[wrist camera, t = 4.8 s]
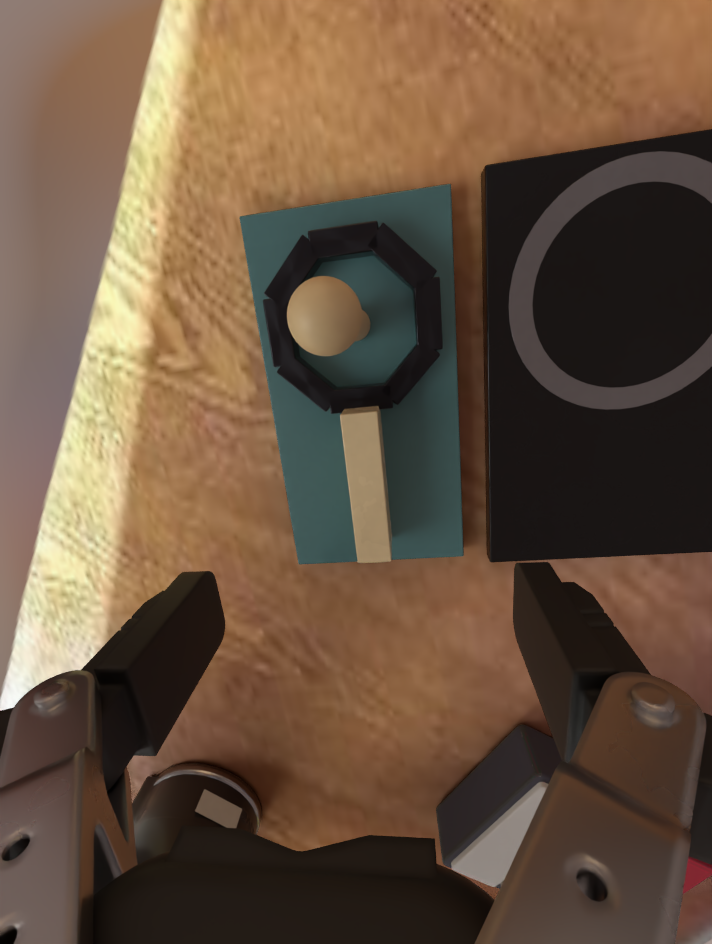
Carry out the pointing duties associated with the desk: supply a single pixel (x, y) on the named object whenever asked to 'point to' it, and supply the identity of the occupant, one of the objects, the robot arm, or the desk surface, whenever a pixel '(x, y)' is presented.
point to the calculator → (506, 809)
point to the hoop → (358, 400)
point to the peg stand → (365, 375)
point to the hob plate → (599, 351)
